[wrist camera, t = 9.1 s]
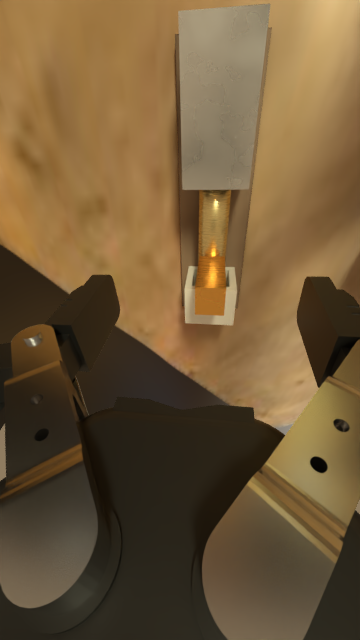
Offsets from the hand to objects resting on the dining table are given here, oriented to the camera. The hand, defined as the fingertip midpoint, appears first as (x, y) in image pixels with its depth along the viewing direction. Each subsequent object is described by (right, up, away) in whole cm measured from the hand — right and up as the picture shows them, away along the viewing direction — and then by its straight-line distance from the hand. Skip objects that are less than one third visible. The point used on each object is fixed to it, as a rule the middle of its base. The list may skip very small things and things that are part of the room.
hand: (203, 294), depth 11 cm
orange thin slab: (+3, +9, +20) cm, 22 cm away
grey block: (+3, +19, +14) cm, 24 cm away
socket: (+3, +4, +25) cm, 26 cm away
